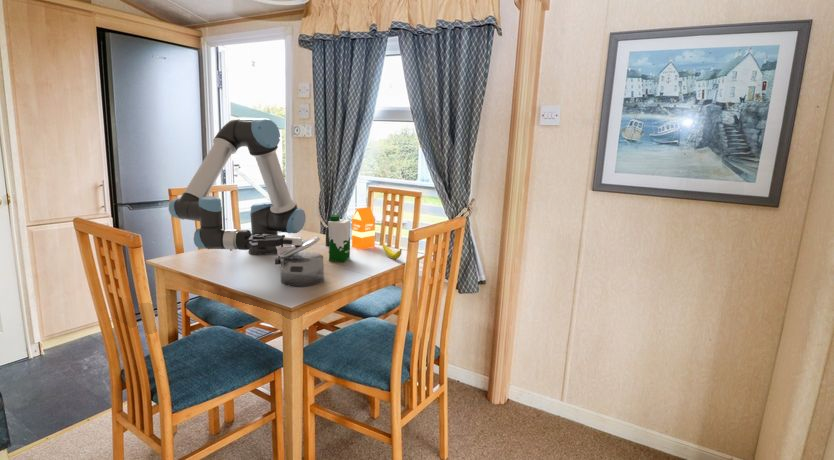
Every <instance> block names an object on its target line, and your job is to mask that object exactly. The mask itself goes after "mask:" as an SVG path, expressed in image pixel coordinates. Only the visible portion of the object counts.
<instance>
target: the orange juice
mask: <svg viewBox="0 0 834 460" xmlns="http://www.w3.org/2000/svg"><path fill="white" fill-rule="evenodd" d="M375 236H376V218H375V216H374V214H373V211H372V209H371V206H368V207H360V208H356V209H355V212H354V214H353V215H352V218H351V248H356V249H359V250H365V249H370V248H375V244H376V237H375Z"/></svg>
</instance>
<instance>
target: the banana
mask: <svg viewBox="0 0 834 460" xmlns="http://www.w3.org/2000/svg"><path fill="white" fill-rule="evenodd" d="M381 246H382V249H383V251H384V253H385V254H386V255H387V257H389V258H390V259H393V260H397V259H398V258H400V257H401V254H402V250H403V249H400V250H399V249H398V250H397V251H396V252H394V251H393V250H392V249H391V248H390V247H388V246H387V245H386V244H385V243H383V242H382V245H381Z"/></svg>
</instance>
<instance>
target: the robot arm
mask: <svg viewBox="0 0 834 460" xmlns="http://www.w3.org/2000/svg"><path fill="white" fill-rule="evenodd" d="M280 138H281V133H280V129H279V127H278V126H277V124H276V123H275V122H274V121H273V120H271V119H270V118H264V117H236V118H233V119H231V120H229V121H228V122H226V123H225V124H224V126H222V128H221V129H220V130H219V131H218V132H217V134H216V135H215V136H214V138H213V140H212V142H213V144H212V147H211V148H210V150H209V151H208V153H207V154H206V156H205V158H204V159H203V160H202V163H201V165H199V167H198V169H197V170H196V172H195V173H194V175H193V177H192V178H191V180H190V182H189V183H188V185H187V187H186V188H185V190H184V191H183V194H181V196H180V198H179V197H178V198H174V199H173V200H171V201H170V202H169V204H168V212H169V214H170V215H171V217H174V218H175V219H179V220H188V221H194V222H200V223H199V227H200V228H197V229H196V230H195V231H194V233H193V244H194V245H195V247H197V248H198V249H205V250H230V252H231V251H232V252H233V250H239V251H248V253H249V254H252V255H258V256H259V255H273V254H278V252H277V248H276V246H280V245H281V247H283V244H284V245H292V246H295V245H302V242H303V237H301V236H300V237H295V236H290V237H289V236H286V234H278V232H280V233H287V234H297V233H300V231H302V229H303V228H304V226H305V223H306V218H307V217H306V212H305V210H304V209H302V208H301V207H300V208H299V207H298V205H297V202H296V200H294V199H292V197H291V195H290V192H289V189H288V186H287V183H286V179H285V177H284V173H283V170H282V167H281V164H280V161H279V158H278V155H277V152H276V151H277V149H278V148H279V147H278V145H279V143H280ZM241 147H246V148H247V149H248V153H249V154H250V155H251V156H253V157H254V158H255V160H256V163H257V167H258V169H259V172H260V174H261V177H262V180H263V183H264V185H265V188H266V192H267V195H268V196H269V200H270V202H267V201H266V202H260V203H254V204H252V205H251V206H250V213H249V214H250V226H251V231H250V230H249V229H238V228H237V229H236V228H235V229H234V228H231V229H230V228H229V229H228V228H227V229H225V228H223V207H222V200H221V198H220V197H218V196H208V194H209V192H210V191H211V189H212V187H213V186H214V185H215V183H216V181H217V179H218V177H219V176H220V174H221V172H222V171H223V169H224V167H225V166H226V164H227V163H228V161H229V159H230V157H231V156H232V155H234V154H236V152H237V151H238V150H239V149H240V148H241ZM282 235H283V236H282Z"/></svg>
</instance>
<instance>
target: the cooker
mask: <svg viewBox="0 0 834 460" xmlns="http://www.w3.org/2000/svg"><path fill="white" fill-rule="evenodd" d="M324 262H325V261H324V255H322V254H320V253H315V252H304V251H303V252H298V253H296V254H293V255H291V256H288V257H285V258H281V257H280V256H278V255H277V257H276V258H275V259H274V265H275V266H280V264H281V268H280V282H281V284H282V285H284V286H287V287H293V288H304V287H305V288H307V287H312V286H317V285H319V284H321V283H323V282H324V281H325V276H324V275H325V274H324V268H325V267H324Z"/></svg>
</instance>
